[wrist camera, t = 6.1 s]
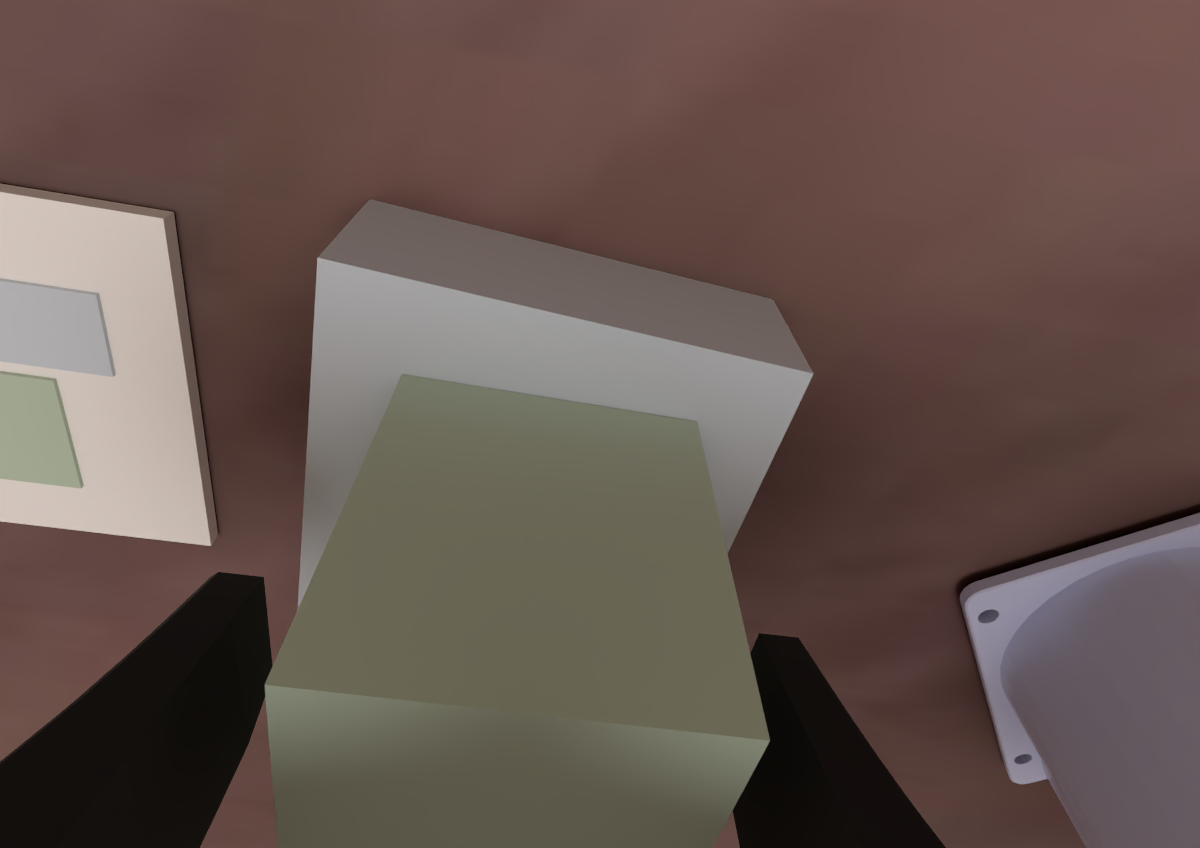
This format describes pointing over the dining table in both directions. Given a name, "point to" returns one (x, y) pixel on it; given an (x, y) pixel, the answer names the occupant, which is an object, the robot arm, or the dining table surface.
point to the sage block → (517, 638)
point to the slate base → (534, 348)
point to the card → (98, 372)
